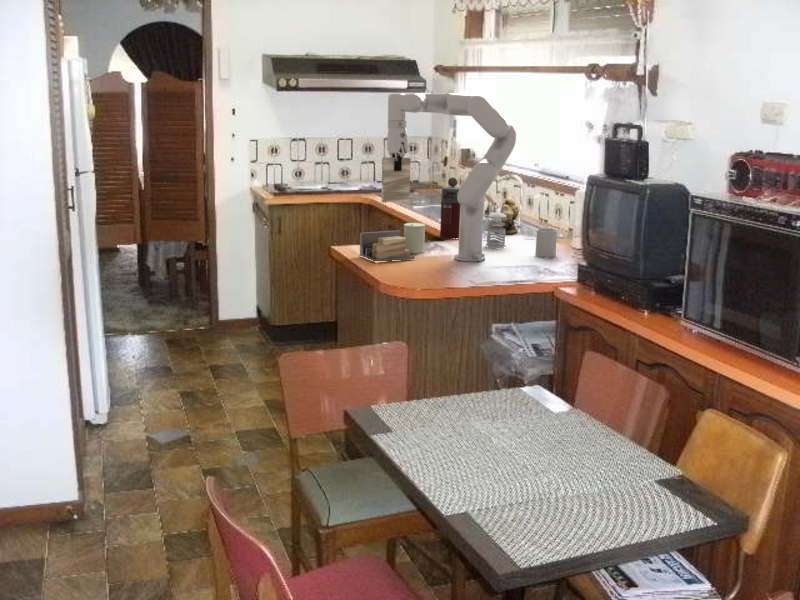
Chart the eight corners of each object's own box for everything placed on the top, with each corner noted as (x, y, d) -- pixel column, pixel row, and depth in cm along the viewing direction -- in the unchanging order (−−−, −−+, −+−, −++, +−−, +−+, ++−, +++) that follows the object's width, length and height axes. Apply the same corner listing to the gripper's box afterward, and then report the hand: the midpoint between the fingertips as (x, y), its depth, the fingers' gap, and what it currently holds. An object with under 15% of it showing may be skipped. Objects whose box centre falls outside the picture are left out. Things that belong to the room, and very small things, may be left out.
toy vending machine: (439, 239, 413) (441, 178, 407) (443, 235, 424) (445, 175, 417) (458, 240, 411) (460, 179, 405) (461, 236, 422) (464, 176, 415)
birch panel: (409, 201, 371) (410, 157, 367) (383, 202, 366) (384, 158, 361) (407, 200, 373) (408, 157, 369) (381, 202, 367) (382, 157, 363)
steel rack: (414, 260, 364) (415, 235, 361) (375, 263, 355) (375, 238, 353) (398, 253, 376) (399, 230, 373) (359, 256, 367) (360, 232, 365)
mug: (553, 258, 374) (555, 232, 371) (533, 256, 377) (534, 230, 374) (558, 253, 385) (560, 228, 382) (539, 251, 388) (540, 226, 385)
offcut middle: (405, 250, 362) (405, 244, 361) (378, 252, 356) (378, 246, 356) (398, 248, 367) (399, 242, 366) (372, 250, 361) (372, 243, 361)
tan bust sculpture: (492, 228, 446) (494, 194, 442) (516, 230, 445) (518, 195, 441) (493, 234, 428) (495, 199, 424) (518, 235, 428) (520, 200, 424)
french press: (507, 248, 393) (510, 192, 387) (481, 248, 393) (484, 191, 387) (505, 244, 402) (508, 189, 396) (480, 244, 403) (482, 188, 397)
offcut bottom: (409, 256, 363) (409, 250, 362) (378, 258, 357) (378, 252, 356) (402, 253, 368) (402, 247, 368) (372, 256, 362) (372, 250, 361)
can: (399, 251, 380) (399, 223, 378) (409, 248, 388) (409, 221, 386) (418, 254, 376) (419, 225, 373) (428, 250, 384) (429, 223, 381)
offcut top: (405, 244, 362) (405, 237, 362) (385, 246, 356) (385, 240, 356) (398, 242, 366) (398, 236, 365) (378, 244, 360) (378, 238, 360)
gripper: (414, 125, 357) (413, 172, 361) (396, 123, 370) (395, 168, 375) (398, 125, 353) (397, 172, 358) (379, 123, 367) (379, 169, 371)
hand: (396, 170), depth 366 cm, fingers closed on birch panel, 2 cm apart
